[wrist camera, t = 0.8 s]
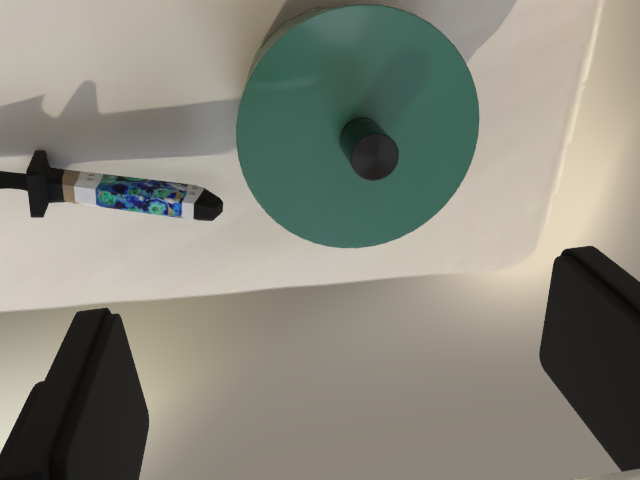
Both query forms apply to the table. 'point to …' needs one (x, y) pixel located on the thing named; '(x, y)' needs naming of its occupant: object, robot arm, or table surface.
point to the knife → (110, 192)
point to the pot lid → (357, 125)
